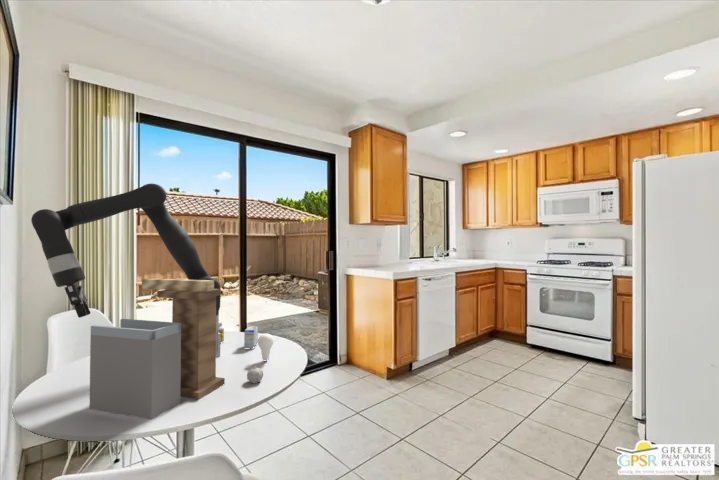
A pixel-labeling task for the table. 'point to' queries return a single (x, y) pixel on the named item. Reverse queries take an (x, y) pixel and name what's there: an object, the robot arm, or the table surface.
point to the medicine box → (251, 337)
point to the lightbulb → (265, 345)
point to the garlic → (255, 374)
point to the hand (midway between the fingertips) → (85, 315)
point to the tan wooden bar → (178, 284)
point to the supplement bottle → (221, 332)
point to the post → (196, 340)
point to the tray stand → (135, 367)
